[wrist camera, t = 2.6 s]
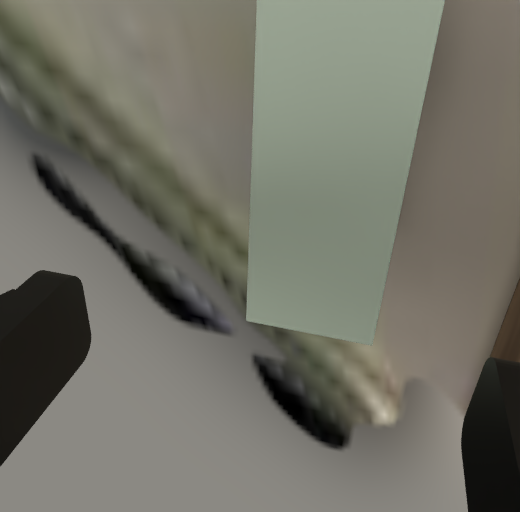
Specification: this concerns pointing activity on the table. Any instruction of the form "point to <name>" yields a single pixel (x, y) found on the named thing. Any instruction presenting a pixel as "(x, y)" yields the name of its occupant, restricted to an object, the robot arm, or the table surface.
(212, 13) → the table surface
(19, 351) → the robot arm
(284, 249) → the stool
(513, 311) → the platform
